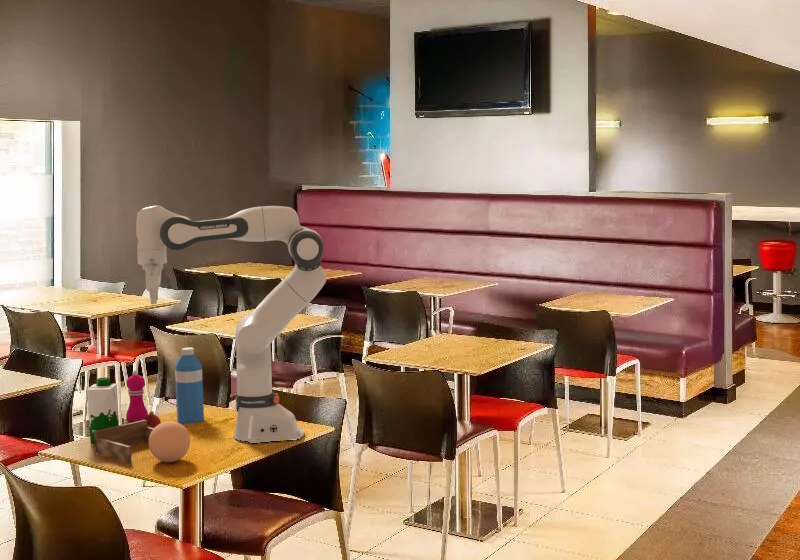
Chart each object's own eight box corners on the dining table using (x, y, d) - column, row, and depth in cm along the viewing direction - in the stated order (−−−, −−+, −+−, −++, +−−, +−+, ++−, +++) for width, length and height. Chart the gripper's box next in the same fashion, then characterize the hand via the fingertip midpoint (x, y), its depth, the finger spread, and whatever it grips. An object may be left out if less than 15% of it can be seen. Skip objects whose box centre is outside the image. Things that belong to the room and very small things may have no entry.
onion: (156, 438, 335) (155, 413, 334) (139, 437, 336) (138, 413, 335) (164, 433, 341) (163, 409, 340) (147, 432, 342) (146, 408, 341)
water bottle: (195, 415, 365) (192, 345, 362) (209, 419, 358) (206, 348, 355) (171, 420, 358) (168, 348, 356) (185, 424, 352) (182, 352, 349)
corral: (178, 450, 320) (177, 427, 320) (128, 463, 307) (127, 440, 306) (145, 441, 332) (144, 419, 331) (95, 453, 318) (93, 431, 317)
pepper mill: (137, 433, 341) (134, 373, 339) (121, 430, 345) (119, 371, 343) (153, 428, 347) (151, 369, 345) (138, 426, 351) (135, 367, 349)
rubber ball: (193, 455, 315) (191, 416, 313) (188, 466, 303) (186, 426, 302) (153, 456, 314) (151, 417, 313) (146, 468, 302) (144, 427, 301)
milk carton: (122, 437, 336) (119, 376, 334) (114, 445, 327) (111, 382, 325) (94, 438, 336) (91, 377, 334) (86, 445, 327) (83, 383, 325)
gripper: (161, 260, 314) (163, 306, 315) (163, 255, 334) (165, 297, 335) (140, 261, 313) (142, 307, 314) (143, 255, 333) (145, 298, 334)
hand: (154, 302), depth 325 cm, fingers open, 8 cm apart
